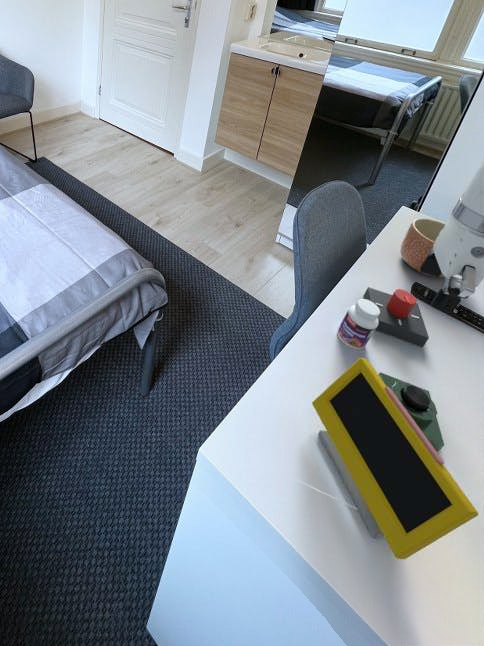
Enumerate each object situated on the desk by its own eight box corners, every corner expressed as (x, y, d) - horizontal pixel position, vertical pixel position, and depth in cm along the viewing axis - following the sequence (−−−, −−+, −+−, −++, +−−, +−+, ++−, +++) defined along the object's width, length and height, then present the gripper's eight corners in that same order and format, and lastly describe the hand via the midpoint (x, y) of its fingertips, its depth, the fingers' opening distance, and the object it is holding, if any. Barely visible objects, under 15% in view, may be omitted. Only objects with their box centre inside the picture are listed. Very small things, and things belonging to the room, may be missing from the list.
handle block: (412, 312, 96) (418, 302, 95) (422, 347, 88) (429, 337, 86) (363, 296, 99) (368, 286, 98) (368, 328, 91) (374, 318, 90)
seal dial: (384, 300, 95) (393, 285, 92) (405, 307, 93) (415, 292, 91) (387, 313, 91) (397, 298, 89) (409, 321, 90) (419, 305, 88)
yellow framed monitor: (304, 414, 74) (336, 356, 66) (345, 411, 75) (381, 354, 67) (385, 569, 56) (441, 515, 49) (438, 564, 57) (500, 509, 50)
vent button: (399, 387, 76) (403, 381, 75) (422, 396, 74) (427, 390, 74) (403, 405, 73) (407, 399, 72) (428, 415, 72) (432, 409, 71)
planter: (444, 291, 103) (466, 258, 98) (388, 261, 111) (406, 229, 106) (455, 269, 110) (476, 237, 105) (402, 243, 118) (419, 212, 113)
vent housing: (375, 378, 81) (383, 365, 79) (423, 398, 78) (433, 385, 76) (383, 429, 72) (393, 415, 71) (438, 452, 70) (450, 439, 68)
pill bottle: (332, 336, 89) (349, 304, 84) (342, 323, 92) (359, 291, 87) (359, 355, 85) (378, 322, 80) (369, 341, 88) (388, 309, 84)
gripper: (531, 257, 62) (472, 334, 70) (492, 198, 76) (446, 268, 84) (470, 239, 65) (420, 315, 73) (442, 186, 79) (403, 254, 87)
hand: (434, 290), depth 78 cm, fingers open, 9 cm apart
